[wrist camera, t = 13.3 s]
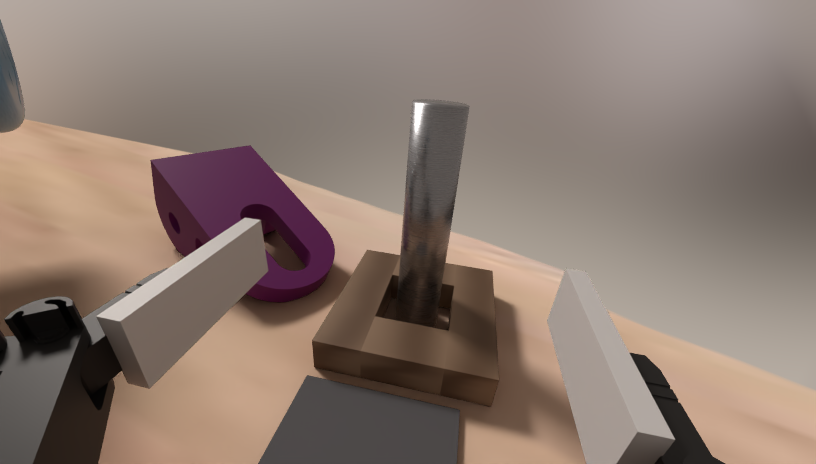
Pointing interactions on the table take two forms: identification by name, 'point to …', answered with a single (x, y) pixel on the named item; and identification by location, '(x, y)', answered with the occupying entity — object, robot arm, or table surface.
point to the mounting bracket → (241, 214)
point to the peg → (429, 206)
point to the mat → (362, 428)
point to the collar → (413, 333)
